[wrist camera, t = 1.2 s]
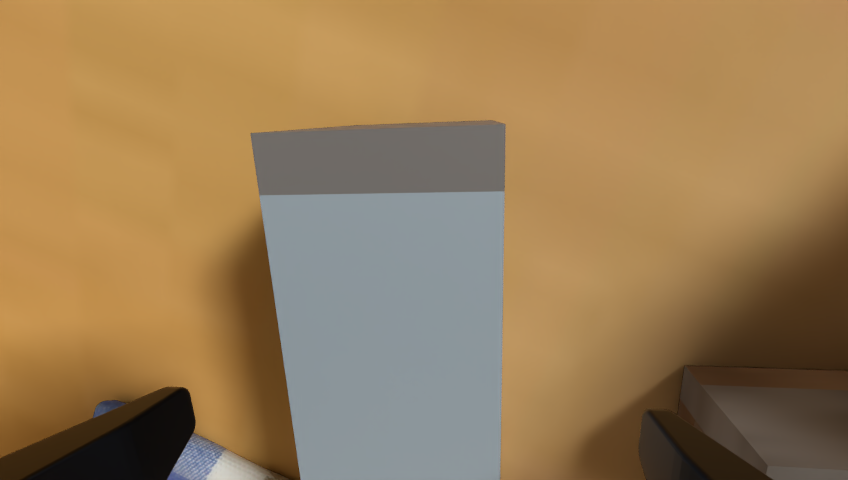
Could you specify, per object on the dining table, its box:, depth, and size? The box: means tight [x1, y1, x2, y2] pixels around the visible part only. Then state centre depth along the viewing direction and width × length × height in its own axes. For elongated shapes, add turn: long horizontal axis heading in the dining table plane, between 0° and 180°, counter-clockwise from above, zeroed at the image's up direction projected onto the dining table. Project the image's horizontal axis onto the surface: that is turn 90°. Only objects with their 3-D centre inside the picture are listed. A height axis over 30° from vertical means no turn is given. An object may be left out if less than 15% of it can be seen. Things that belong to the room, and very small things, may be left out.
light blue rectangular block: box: [251, 120, 505, 480], centre depth 11 cm, size 4×11×6 cm, turn 2°
